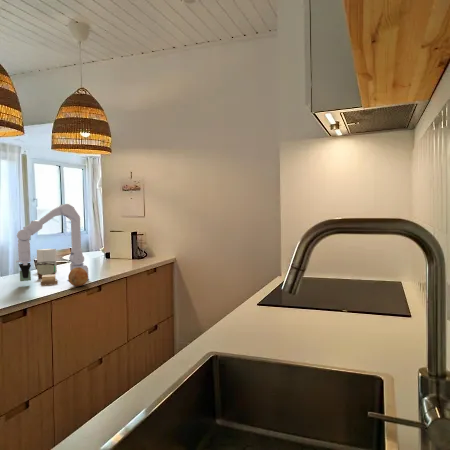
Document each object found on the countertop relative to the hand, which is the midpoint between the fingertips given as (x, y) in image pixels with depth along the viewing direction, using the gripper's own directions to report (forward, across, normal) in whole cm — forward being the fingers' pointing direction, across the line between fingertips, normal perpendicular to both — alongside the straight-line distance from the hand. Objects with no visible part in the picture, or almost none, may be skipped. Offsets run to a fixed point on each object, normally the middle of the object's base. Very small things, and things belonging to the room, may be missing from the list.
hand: (25, 277), depth 209 cm
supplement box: (+5, -51, +15) cm, 53 cm away
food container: (+5, -19, +13) cm, 24 cm away
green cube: (+2, 0, 0) cm, 2 cm away
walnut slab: (+5, 0, +12) cm, 13 cm away
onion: (+5, +18, +24) cm, 30 cm away
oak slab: (+3, 0, +11) cm, 12 cm away
